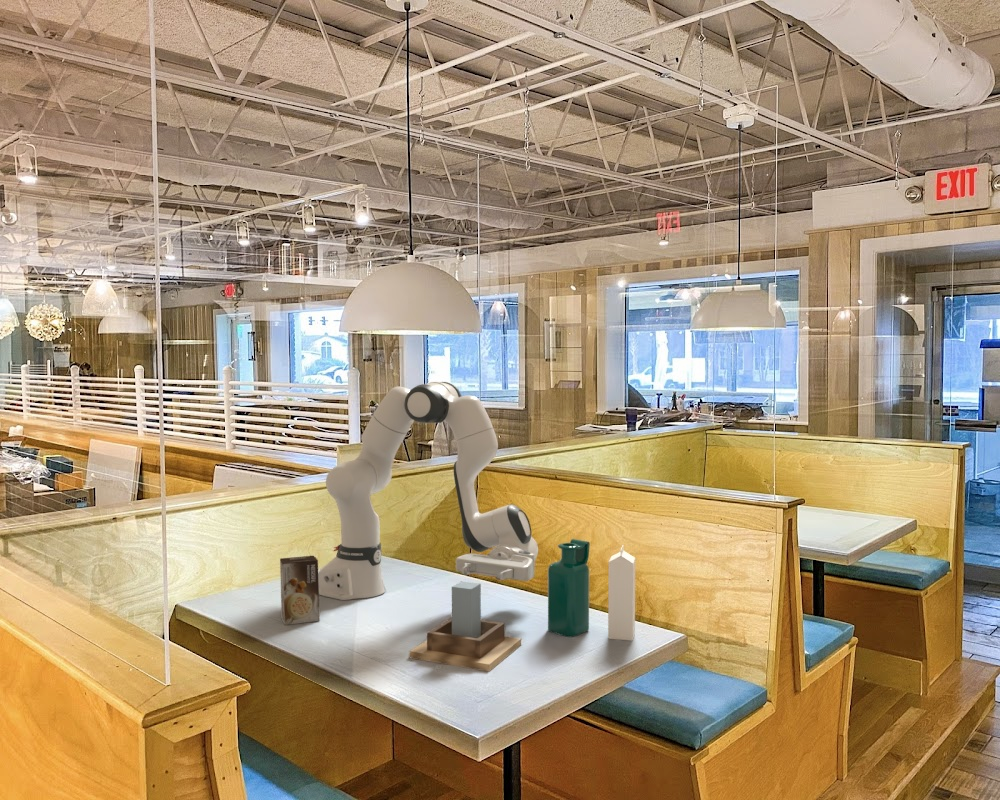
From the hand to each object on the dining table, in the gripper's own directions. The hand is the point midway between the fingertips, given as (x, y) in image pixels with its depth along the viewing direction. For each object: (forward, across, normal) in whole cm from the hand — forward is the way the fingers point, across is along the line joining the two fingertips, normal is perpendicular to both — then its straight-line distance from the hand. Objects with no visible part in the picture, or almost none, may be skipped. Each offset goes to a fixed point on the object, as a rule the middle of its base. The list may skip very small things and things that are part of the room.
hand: (481, 574), depth 199 cm
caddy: (+13, +3, +15) cm, 20 cm away
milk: (-12, +33, +14) cm, 38 cm away
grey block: (+13, +3, +13) cm, 19 cm away
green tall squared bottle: (-11, +20, +14) cm, 27 cm away
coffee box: (+10, -47, +16) cm, 51 cm away
